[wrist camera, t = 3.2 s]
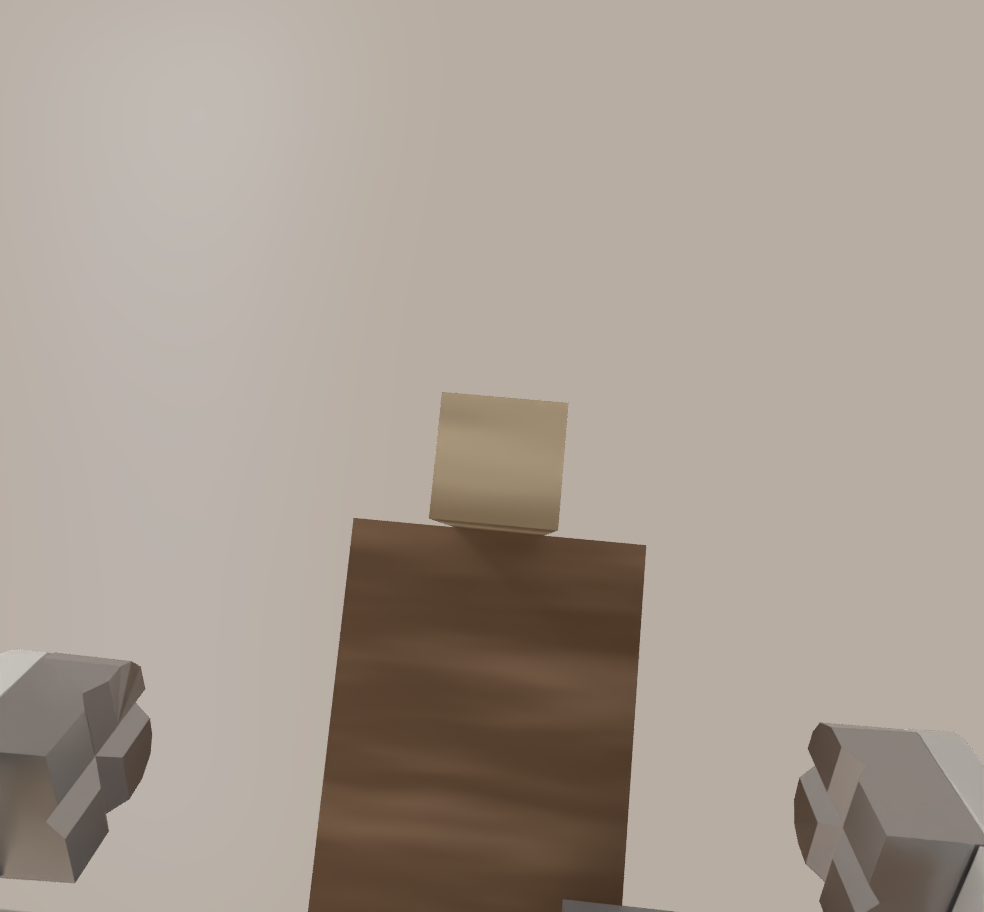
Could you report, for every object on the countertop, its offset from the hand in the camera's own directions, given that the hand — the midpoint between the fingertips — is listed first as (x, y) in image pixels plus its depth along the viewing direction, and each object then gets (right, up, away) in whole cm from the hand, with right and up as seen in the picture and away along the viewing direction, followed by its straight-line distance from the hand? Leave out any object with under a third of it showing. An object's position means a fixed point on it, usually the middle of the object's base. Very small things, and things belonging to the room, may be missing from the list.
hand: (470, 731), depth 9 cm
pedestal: (-2, -26, +19) cm, 32 cm away
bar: (+1, +1, +18) cm, 18 cm away
